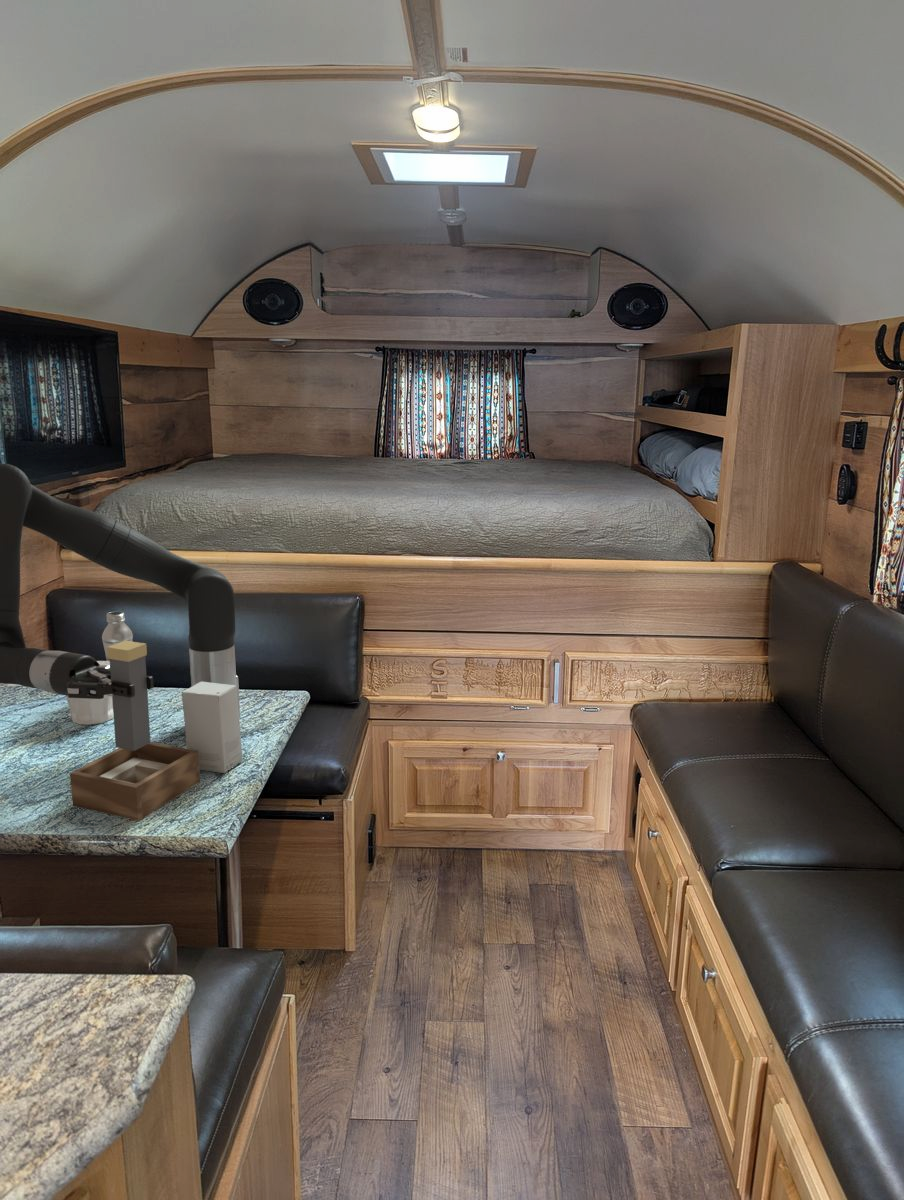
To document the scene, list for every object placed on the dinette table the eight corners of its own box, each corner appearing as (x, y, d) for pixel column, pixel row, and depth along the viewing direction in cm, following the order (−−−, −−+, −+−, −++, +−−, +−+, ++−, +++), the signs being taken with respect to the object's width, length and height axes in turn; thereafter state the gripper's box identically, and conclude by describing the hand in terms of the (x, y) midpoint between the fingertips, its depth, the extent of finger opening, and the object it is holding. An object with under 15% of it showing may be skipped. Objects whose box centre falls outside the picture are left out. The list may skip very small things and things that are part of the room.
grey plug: (132, 738, 148) (125, 640, 144) (152, 742, 147) (146, 643, 143) (113, 747, 144) (106, 647, 140) (134, 751, 143) (127, 650, 139)
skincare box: (243, 761, 161) (239, 684, 158) (223, 775, 155) (219, 696, 152) (206, 755, 164) (202, 679, 160) (185, 768, 158) (180, 690, 154)
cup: (53, 716, 182) (49, 668, 180) (111, 703, 191) (107, 657, 188) (73, 733, 174) (69, 682, 171) (133, 719, 182) (129, 670, 179)
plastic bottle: (105, 693, 197) (98, 611, 192) (136, 690, 200) (130, 609, 195) (106, 702, 191) (99, 618, 187) (138, 699, 194) (131, 615, 189)
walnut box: (138, 769, 157) (136, 739, 156) (200, 781, 152) (198, 751, 151) (72, 805, 143) (69, 773, 141) (138, 821, 138) (136, 787, 136)
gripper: (29, 664, 141) (110, 678, 135) (93, 642, 153) (169, 654, 148) (33, 706, 142) (113, 721, 136) (96, 681, 155) (171, 695, 149)
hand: (142, 686), depth 142 cm, fingers closed on grey plug, 4 cm apart
